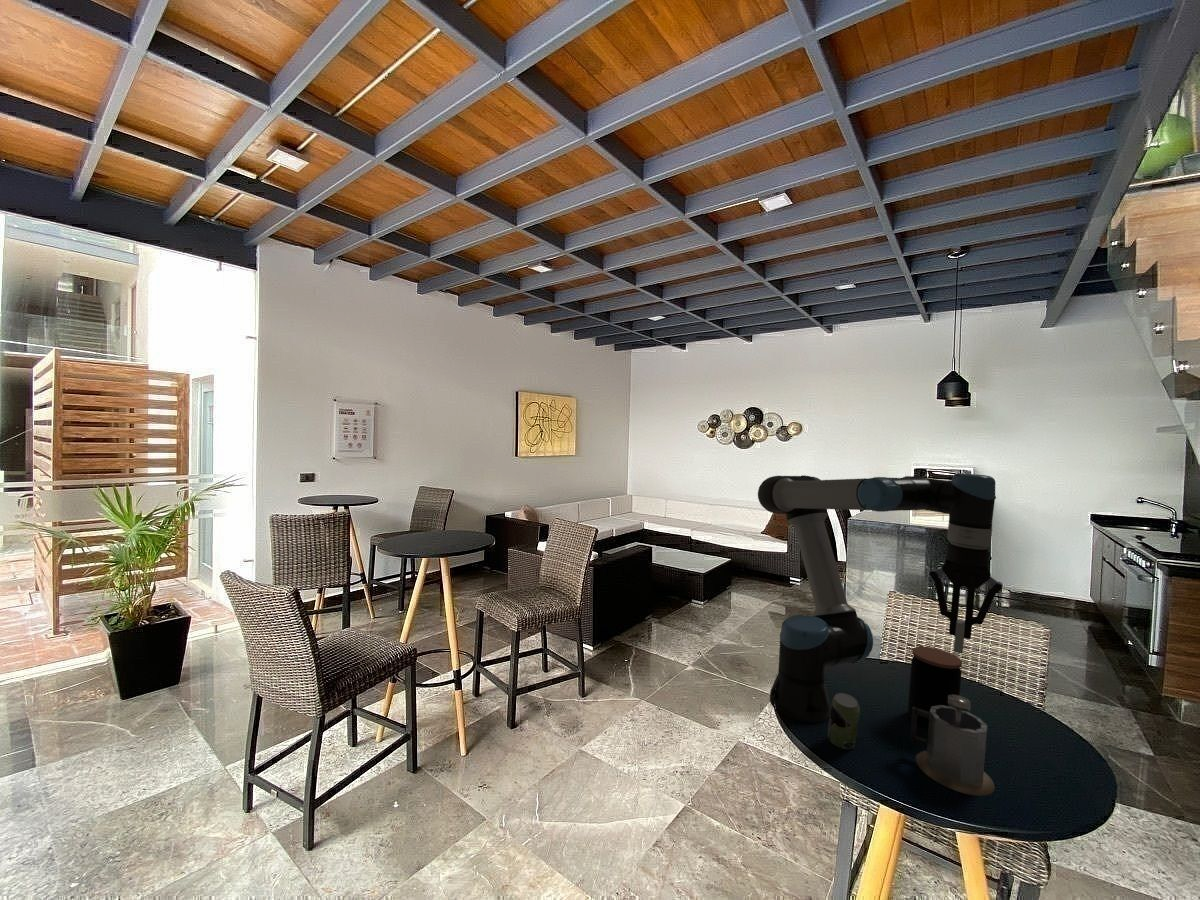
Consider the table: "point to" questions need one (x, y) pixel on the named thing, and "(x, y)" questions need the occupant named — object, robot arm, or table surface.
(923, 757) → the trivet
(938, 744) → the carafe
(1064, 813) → the table surface
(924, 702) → the coffee jar
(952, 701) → the plunger
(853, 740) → the beverage can
